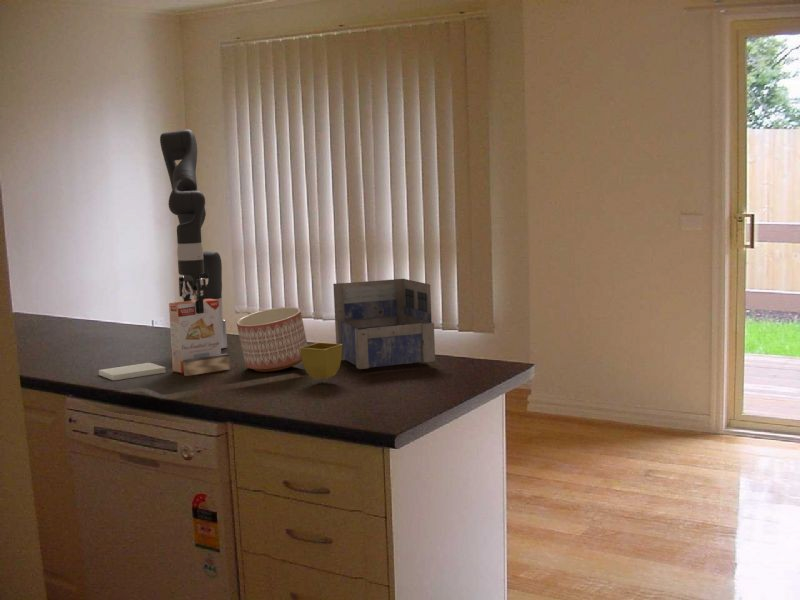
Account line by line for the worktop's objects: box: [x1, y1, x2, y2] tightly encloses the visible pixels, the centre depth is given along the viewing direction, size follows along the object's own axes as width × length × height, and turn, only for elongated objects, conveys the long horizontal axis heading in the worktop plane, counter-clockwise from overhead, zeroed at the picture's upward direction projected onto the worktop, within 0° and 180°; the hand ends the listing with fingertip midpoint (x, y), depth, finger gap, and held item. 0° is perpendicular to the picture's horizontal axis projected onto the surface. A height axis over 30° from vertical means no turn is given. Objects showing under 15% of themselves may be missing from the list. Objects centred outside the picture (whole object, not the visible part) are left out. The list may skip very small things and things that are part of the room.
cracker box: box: [168, 299, 222, 374], centre depth 284 cm, size 14×6×21 cm, turn 132°
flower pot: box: [300, 342, 342, 380], centre depth 265 cm, size 9×9×9 cm
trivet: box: [98, 362, 167, 381], centre depth 282 cm, size 16×12×2 cm
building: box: [332, 278, 436, 370], centre depth 290 cm, size 23×24×23 cm
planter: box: [236, 306, 309, 373], centre depth 282 cm, size 19×19×15 cm
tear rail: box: [183, 353, 231, 377], centre depth 280 cm, size 14×2×5 cm, turn 127°
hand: (194, 312), depth 283 cm, fingers open, 8 cm apart
